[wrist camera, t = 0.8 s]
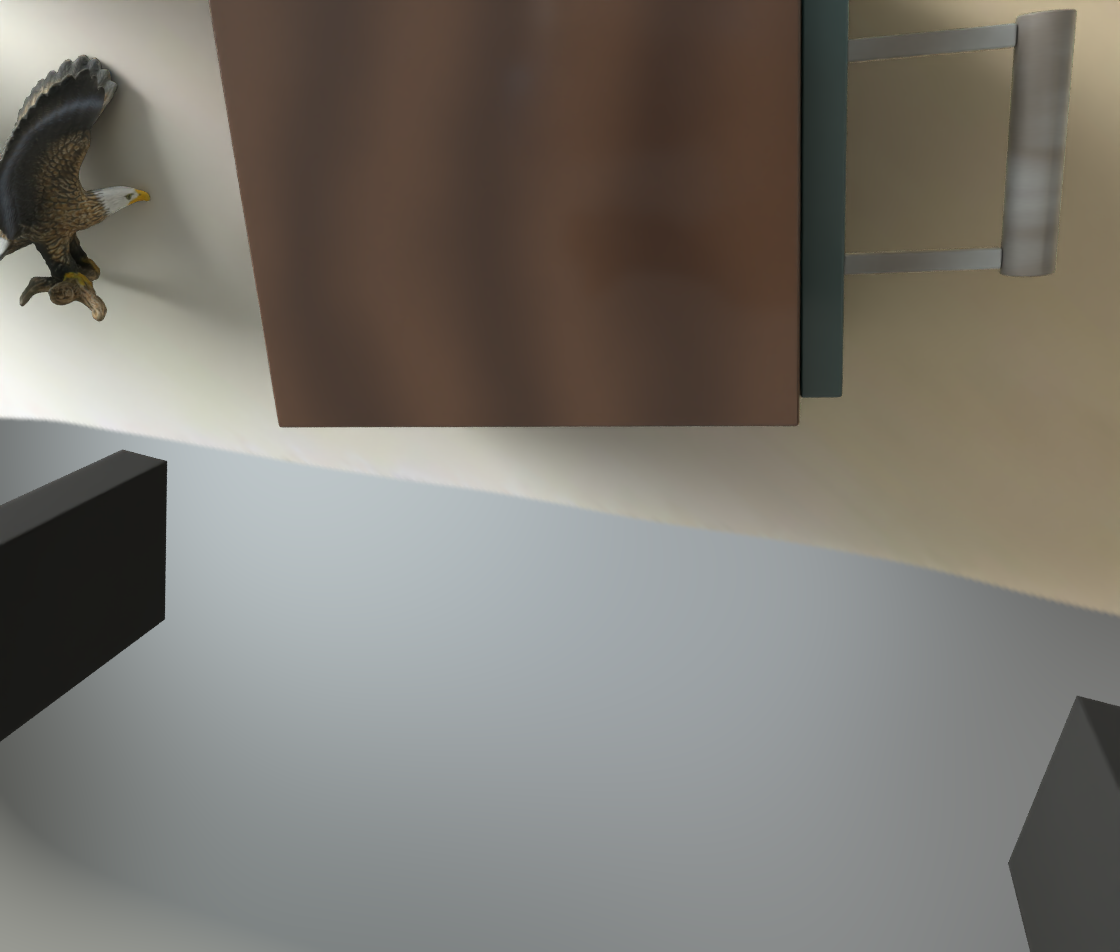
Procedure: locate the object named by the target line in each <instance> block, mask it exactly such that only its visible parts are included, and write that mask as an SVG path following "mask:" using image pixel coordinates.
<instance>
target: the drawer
mask: <svg viewBox="0 0 1120 952" xmlns="http://www.w3.org/2000/svg"><path fill="white" fill-rule="evenodd" d="M1076 16H1077V11H1076V10H1075V9H1058V10H1048V11H1039V12H1032V13H1027V14H1022V15H1019V16H1017V17H1016V20H1015V23H1012V24H1001V25H991V26H981V27H971V28H960V29H950V30H940V31H929V32H919V33H909V34H899V35H888V36H878V37H868V38H857V39H849V40H848V27H849V0H801V299H800V396H801V397H803V398H834V397H841V396H842V383H843V323H844V275H857V274H882V273H908V272H933V271H958V270H984V269H999V273H1000V274H1001V275H1004V276H1011V277H1037V276H1047V275H1051V274H1054V273H1055V271H1056V259H1057V247H1058V235H1059V223H1060V211H1061V199H1062V187H1063V174H1064V162H1065V150H1066V138H1067V126H1068V114H1069V101H1070V89H1071V77H1072V65H1073V53H1074V41H1075V28H1076ZM1012 47H1014V51H1013V67H1012V82H1011V97H1010V113H1009V128H1008V144H1007V159H1006V175H1005V190H1004V205H1003V221H1002V236H1001V248H1000V247H998V246H994V247H971V248H949V249H927V250H905V251H882V252H860V253H845V205H846V146H847V86H848V63H855V62H866V61H877V60H888V59H899V58H910V57H921V56H932V55H943V54H954V53H964V52H975V51H986V50H997V49H1008V48H1012Z"/></svg>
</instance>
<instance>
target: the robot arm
mask: <svg viewBox="0 0 1120 952" xmlns="http://www.w3.org/2000/svg"><path fill="white" fill-rule="evenodd" d="M166 497H167V461H165V460H161V459H156V458H153V457H148V456H145V455H141V454H137V453H134V452H130V451H126V450H121V451H118V452H116V453H114V454H112V455H110V456H107V457H105V458H103V459H101V460H99V461H97V462H94V463H92V464H90V465H88V466H86V467H83V468H81V469H79V470H77V471H75V472H72V473H70V474H68V475H66V476H64V477H62V478H60V479H57V480H55V481H53V482H51V483H48V484H46V485H44V486H42V487H40V488H37V489H35V490H33V491H31V492H29V493H27V494H24V495H22V496H20V497H18V498H16V499H13V500H11V501H9V502H7V503H5V504H3V505H0V741H2V740H3V739H4V738H6V737H7V736H8V735H10V734H11V733H12V732H14V731H15V730H16V729H18V728H19V727H21V726H22V725H23V724H25V723H26V722H27V721H29V720H30V719H31V718H33V717H34V716H35V715H37V714H38V713H39V712H41V711H42V710H43V709H45V708H46V707H47V706H49V705H50V704H51V703H53V702H54V701H55V700H57V699H58V698H59V697H61V696H62V695H64V694H65V693H66V692H68V691H69V690H70V689H71V688H73V687H74V686H76V685H77V684H78V683H80V682H81V681H82V680H84V679H85V678H86V677H88V676H89V675H90V674H92V673H93V672H95V671H96V670H97V669H99V668H100V667H101V666H103V665H104V664H105V663H106V662H108V661H109V660H110V659H112V658H113V657H115V656H116V655H117V654H119V653H120V652H121V651H123V650H124V649H125V648H127V647H128V646H130V645H131V644H132V643H133V642H135V641H136V640H138V639H139V638H140V637H142V636H143V635H144V634H145V633H147V632H148V631H150V630H151V629H152V628H154V627H155V626H156V625H158V624H159V623H160V622H162V621H163V620H164V619H165V571H166V569H165V568H166V566H165V565H166V502H167V500H166ZM1008 864H1009V868H1010V872H1011V876H1012V880H1013V884H1014V888H1015V892H1016V896H1017V900H1018V904H1019V908H1020V912H1021V916H1022V921H1023V925H1024V929H1025V933H1026V937H1027V941H1028V945H1029V948H1030V952H1120V707H1119V706H1115V705H1111V704H1107V703H1104V702H1100V701H1095V700H1092V699H1087V698H1084V697H1080V696H1077V697H1076V699H1075V702H1074V704H1073V706H1072V709H1071V711H1070V714H1069V717H1068V719H1067V721H1066V723H1065V726H1064V728H1063V731H1062V733H1061V736H1060V738H1059V741H1058V743H1057V745H1056V748H1055V751H1054V753H1053V755H1052V758H1051V760H1050V763H1049V765H1048V767H1047V770H1046V772H1045V775H1044V777H1043V780H1042V782H1041V784H1040V787H1039V789H1038V792H1037V794H1036V797H1035V799H1034V802H1033V804H1032V806H1031V809H1030V811H1029V814H1028V816H1027V818H1026V821H1025V823H1024V826H1023V829H1022V831H1021V833H1020V836H1019V838H1018V841H1017V843H1016V846H1015V848H1014V850H1013V853H1012V855H1011V857H1010V860H1009V862H1008Z"/></svg>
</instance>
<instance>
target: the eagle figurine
mask: <svg viewBox="0 0 1120 952" xmlns="http://www.w3.org/2000/svg"><path fill="white" fill-rule="evenodd" d="M116 90H117V84H116V83H115V82H113V81H111V74H110V71H109V70H107V69H101V64H100V61H99V60H98V59H97V58H92V59H91V60H90V59H89V58H88V57H87V56H86V55H81V56H79V57H78V58H77V59H76V60H75V61H74V62H72V61H71V60H69V59H68V60H65V61H64V62H63V63H62V64H61V66H60V68H59V70H58V73H56V72H55V71H54V70H52V71H50V72H49V73H48V75H47V78H46V79H45V80H44V79H41V80H40V81H38V83H37V85H36V86H35V87H34V88H33V89H32V91H31V94H30V96H29V97H27V98H26V99H25V102H24V105H23V108H22V109H20V110H19V113H18V120H17V122H16V123H15V127H14V129H13V131H12V135H11V136H10V137H9V138H8V139H7V142H6V147H5V148H4V150H3V154H2V157H1V159H0V230H1V231H0V261H1V260H2V259H3V258H4V257H5V256H6V255H8V254H11V253H13V252H15V251H17V250H19V249H21V248H23V247H26V246H28V245H29V244H32V243H34V244H35V246H36V248H37V250H38V251H39V252H40V253H41V255H42V257H43V259H44V260H45V261H46V264H47V265H48V267H49V269H50V271H51V276H52V277H33V278H31V280H30V282H29V285H28V286H27V288H26V289H25V290H24V292H23V293H22V295H21V297H20V305H21V306H24V305H25V304H26V303H27V302H28V301H29V299H30V298H31V297H32V296H33V295H34V294H37V293H41V292H48V294H49V296H50V300H51V301H52V302H53V303H54V304H56V305H66V304H69V303H71V302H73V301H79V302H81V303H83V304H84V305H86V306H87V307H88V308H90V310H91V311H92V316H93V318H94V319H95V320H97V321H102V320H103V319H104V317H105V315H106V312H107V308H106V306H105V304H104V302H103V301H102V299H101V298H100V297H99V296H97V295H96V292H95V290H94V288H93V282H92V281H94V280H96V279H98V278H99V275H100V269H99V267H98V266H97V265H96V264H95V263H94V261H93V260H91V259H90V258H88V257H87V255H86V253H85V252H84V251H83V249H82V248H81V246H80V242H79V240H78V238H77V236H76V231H79V230H84V229H87V228H89V227H91V226H93V225H95V224H98V223H100V222H102V221H103V220H105V219H106V218H107V217H108V216H110V215H112V214H113V213H115V212H116V211H118V210H120V209H122V208H124V207H126V206H128V205H130V204H132V203H135V202H137V201H143V200H144V201H149V200H150V196H149V194H148V193H146V192H145V191H142V190H137V189H133V188H130V187H125V186H113V187H109V188H103V189H98V190H89V191H86V190H84V189H83V188H82V186H81V184H80V181H79V170H80V166H81V164H82V161H83V159H84V157H85V155H86V153H87V151H88V148H89V146H90V140H91V128H92V126H93V124H94V123H95V122H96V121H97V119H98V117H99V115H100V114H101V113H102V112H103V110H104V108H105V107H106V106H107V104H108V103H109V102H110V101H111V99H112V98H113V95H114V93H115V91H116Z"/></svg>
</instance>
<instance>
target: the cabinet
mask: <svg viewBox="0 0 1120 952" xmlns="http://www.w3.org/2000/svg"><path fill="white" fill-rule="evenodd" d="M208 1H209V7H210V13H211V19H212V25H213V31H214V37H215V43H216V49H217V55H218V61H219V67H220V73H221V79H222V85H223V91H224V97H225V103H226V110H227V116H228V122H229V128H230V134H231V140H232V146H233V152H234V158H235V164H236V170H237V176H238V182H239V188H240V194H241V200H242V206H243V212H244V218H245V224H246V230H247V236H248V242H249V248H250V254H251V260H252V266H253V272H254V278H255V284H256V290H257V296H258V302H259V308H260V314H261V320H262V326H263V332H264V338H265V344H266V350H267V356H268V362H269V368H270V374H271V380H272V386H273V392H274V399H275V405H276V411H277V417H278V423H279V426H280V427H632V426H798V425H799V421H800V410H801V399H802V397H801V396H800V299H801V0H208Z"/></svg>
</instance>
